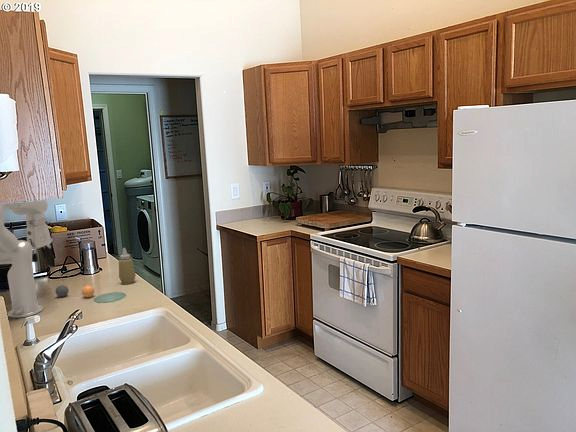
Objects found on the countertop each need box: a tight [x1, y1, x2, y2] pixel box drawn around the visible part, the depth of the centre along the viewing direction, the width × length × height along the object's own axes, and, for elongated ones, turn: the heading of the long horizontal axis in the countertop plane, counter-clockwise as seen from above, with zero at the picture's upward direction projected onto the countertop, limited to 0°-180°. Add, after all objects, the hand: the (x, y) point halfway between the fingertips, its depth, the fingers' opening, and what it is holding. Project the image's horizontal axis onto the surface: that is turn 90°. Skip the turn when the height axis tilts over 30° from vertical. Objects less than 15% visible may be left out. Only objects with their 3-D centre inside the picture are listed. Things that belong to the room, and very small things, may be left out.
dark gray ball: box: [55, 284, 69, 298], centre depth 221 cm, size 6×6×6 cm
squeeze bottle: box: [118, 247, 136, 285], centre depth 237 cm, size 8×8×18 cm
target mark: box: [93, 291, 127, 304], centre depth 216 cm, size 14×14×1 cm
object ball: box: [81, 284, 95, 298], centre depth 218 cm, size 6×6×6 cm
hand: (41, 259), depth 221 cm, fingers open, 8 cm apart
